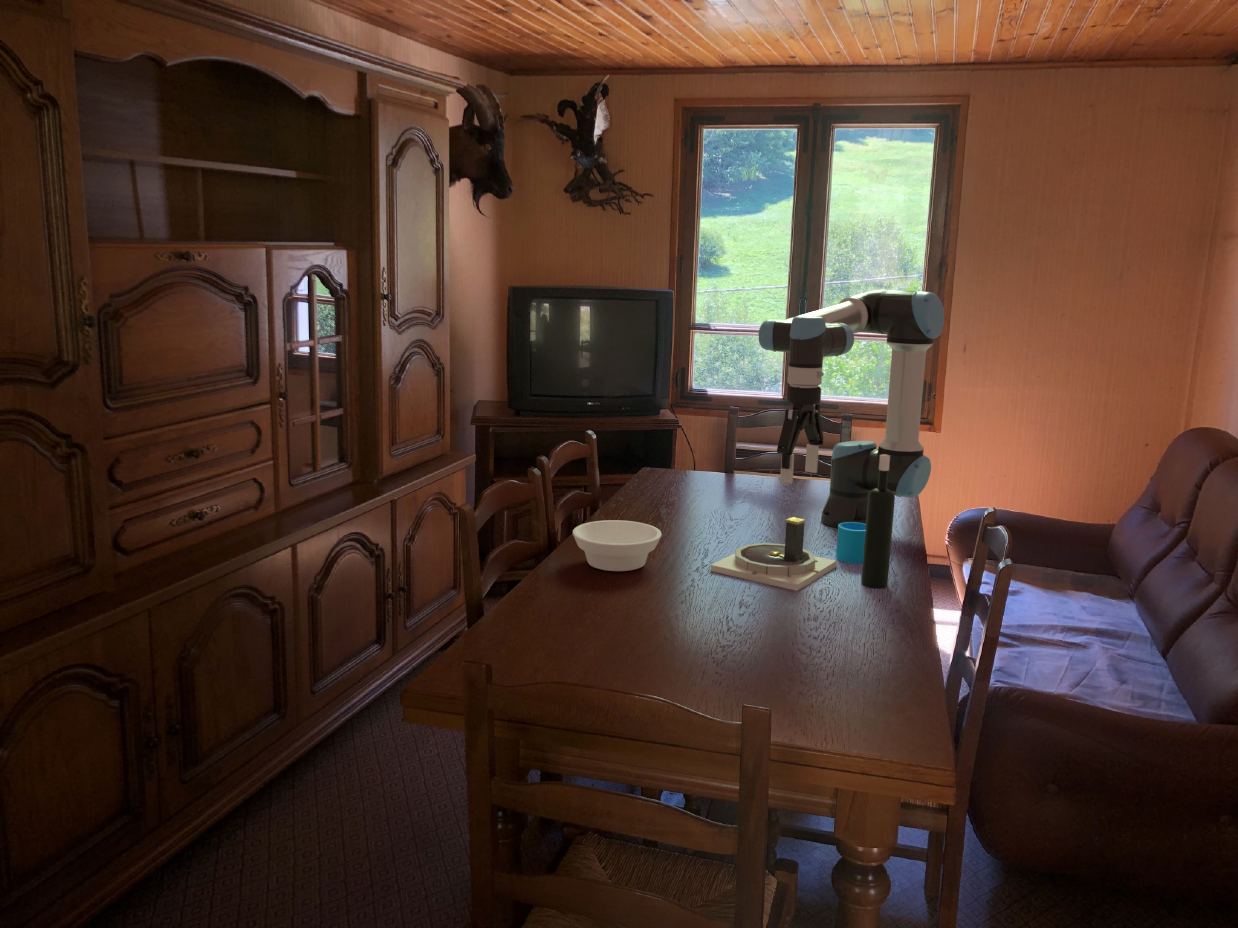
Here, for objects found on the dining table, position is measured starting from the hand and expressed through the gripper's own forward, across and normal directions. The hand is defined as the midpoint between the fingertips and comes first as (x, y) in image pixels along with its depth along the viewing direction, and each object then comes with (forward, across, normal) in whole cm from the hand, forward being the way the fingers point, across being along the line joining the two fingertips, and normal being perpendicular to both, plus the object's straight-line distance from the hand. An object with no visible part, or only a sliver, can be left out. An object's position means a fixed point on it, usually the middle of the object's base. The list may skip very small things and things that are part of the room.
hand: (798, 477), depth 221 cm
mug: (+23, +21, -7) cm, 32 cm away
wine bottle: (+23, +3, -18) cm, 30 cm away
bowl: (+23, -22, +36) cm, 48 cm away
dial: (+21, -1, +4) cm, 21 cm away
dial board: (+23, -1, +4) cm, 23 cm away
